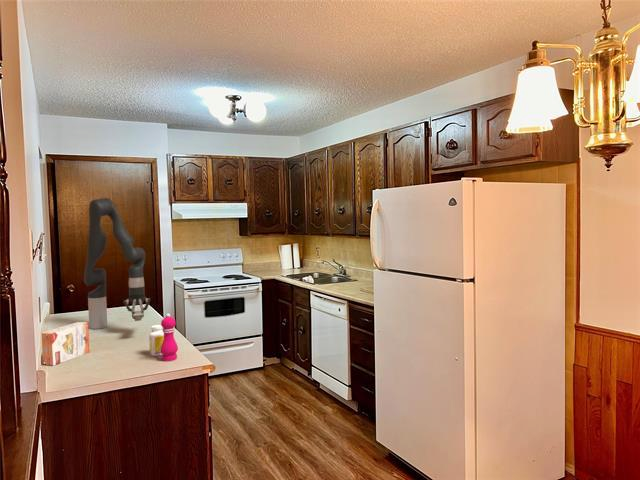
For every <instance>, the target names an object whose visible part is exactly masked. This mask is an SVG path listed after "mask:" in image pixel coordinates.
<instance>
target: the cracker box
mask: <svg viewBox="0 0 640 480" xmlns="http://www.w3.org/2000/svg"><path fill="white" fill-rule="evenodd" d="M89 333H90V331H89V322H85V321H76V322H73V323H70V324H66V325H63V326H59V327H56V328H53V329H50V330H46V331H43V332H41V349H42V361H43V360H44V362H45V364H46V365H45V366H51V365H52V366H53V367H54V366H57V365H59V364H61V363H64V362H67V361H69V360H72V359H74V358H77V357H80V356H82V355H85V354H87V353H89V352H90V334H89Z"/></svg>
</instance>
